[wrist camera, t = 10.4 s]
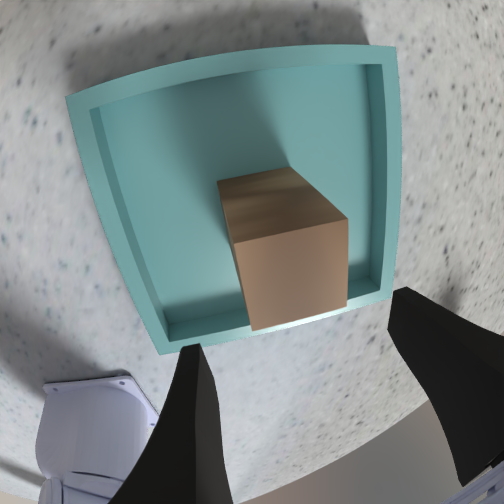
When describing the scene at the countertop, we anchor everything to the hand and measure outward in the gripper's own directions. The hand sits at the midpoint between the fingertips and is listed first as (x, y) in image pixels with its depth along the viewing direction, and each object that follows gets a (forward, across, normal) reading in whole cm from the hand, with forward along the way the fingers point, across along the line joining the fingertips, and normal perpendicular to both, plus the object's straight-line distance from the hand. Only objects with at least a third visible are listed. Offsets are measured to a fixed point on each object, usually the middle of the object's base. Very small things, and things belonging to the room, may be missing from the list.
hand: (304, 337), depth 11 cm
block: (+8, 0, -2) cm, 9 cm away
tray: (+9, 0, -2) cm, 9 cm away
